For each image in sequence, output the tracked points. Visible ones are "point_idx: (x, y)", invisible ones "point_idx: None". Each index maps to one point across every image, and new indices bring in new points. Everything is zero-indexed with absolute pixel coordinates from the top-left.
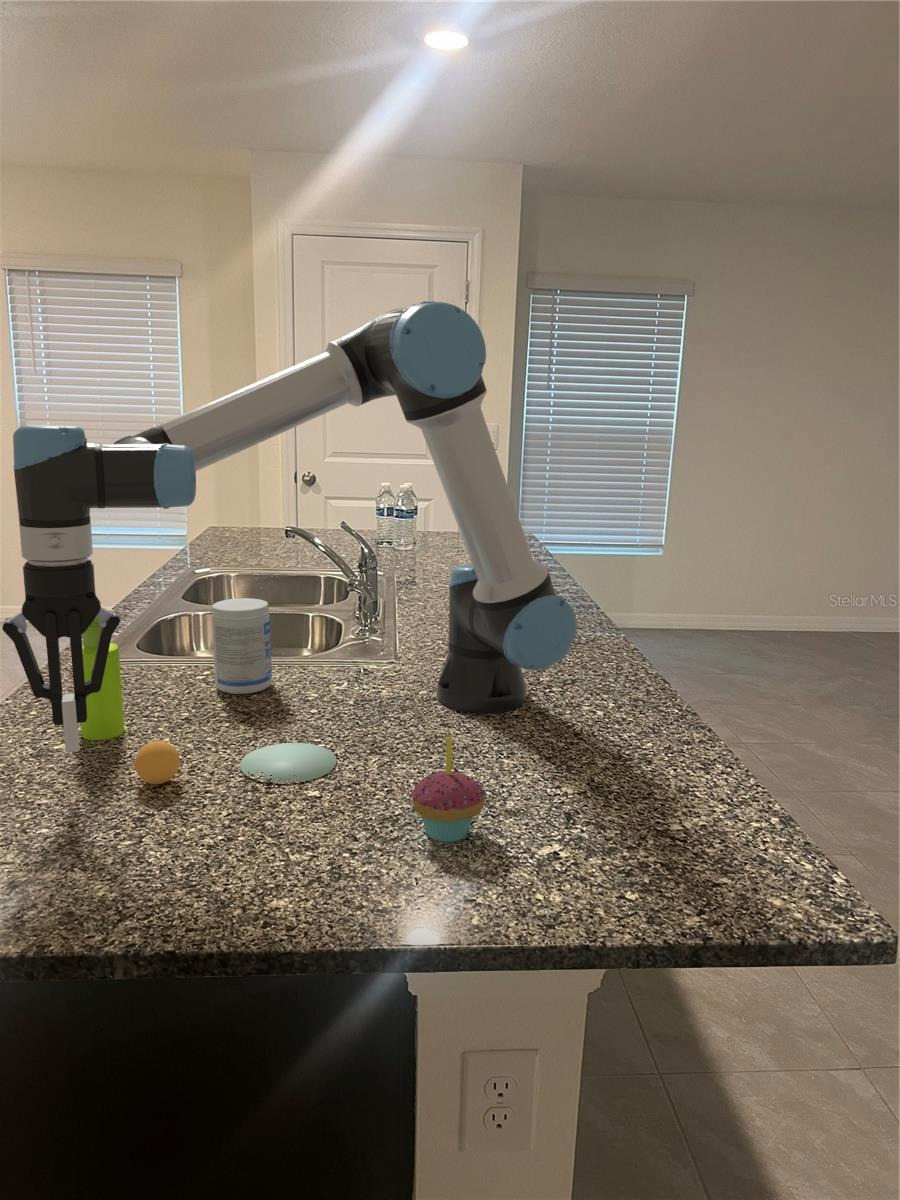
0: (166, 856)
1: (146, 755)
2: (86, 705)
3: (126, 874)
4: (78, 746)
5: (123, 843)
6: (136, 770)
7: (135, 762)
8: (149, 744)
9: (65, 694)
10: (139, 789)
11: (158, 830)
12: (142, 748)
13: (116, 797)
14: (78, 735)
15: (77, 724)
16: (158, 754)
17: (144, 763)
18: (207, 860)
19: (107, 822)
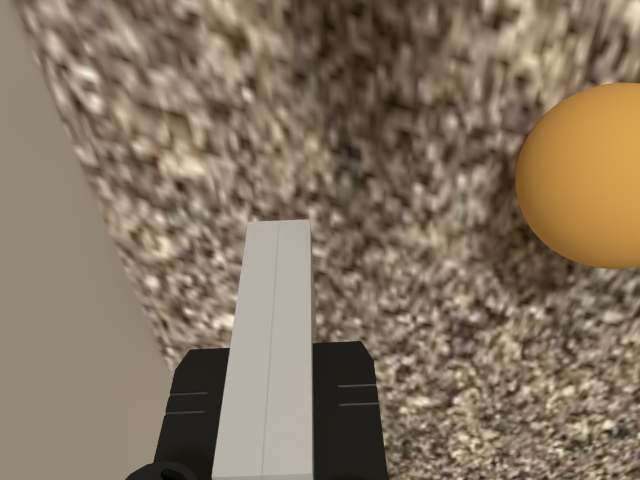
0: (485, 451)
1: (578, 257)
2: (379, 414)
3: (406, 475)
4: (315, 317)
5: (412, 402)
6: (517, 197)
7: (527, 203)
8: (623, 229)
9: (235, 476)
10: (500, 170)
11: (494, 378)
12: (583, 220)
13: (420, 203)
14: (311, 263)
15: (313, 335)
16: (625, 267)
17: (555, 251)
18: (551, 472)
19: (384, 324)
